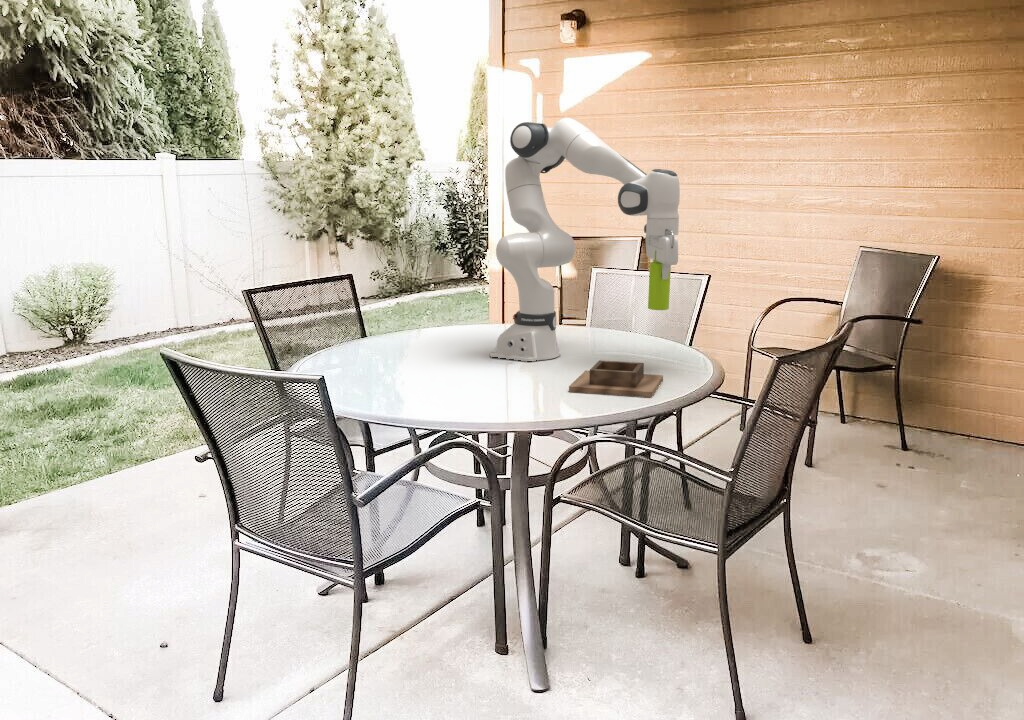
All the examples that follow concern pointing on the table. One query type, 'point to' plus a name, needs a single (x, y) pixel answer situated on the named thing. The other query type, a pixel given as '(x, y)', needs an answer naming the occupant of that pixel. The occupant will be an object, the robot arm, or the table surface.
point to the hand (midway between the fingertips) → (661, 277)
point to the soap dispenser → (658, 288)
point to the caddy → (617, 380)
